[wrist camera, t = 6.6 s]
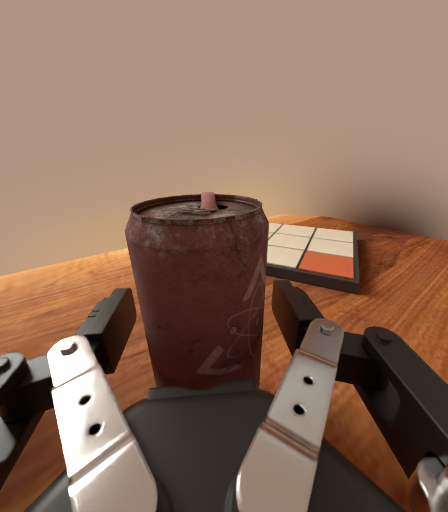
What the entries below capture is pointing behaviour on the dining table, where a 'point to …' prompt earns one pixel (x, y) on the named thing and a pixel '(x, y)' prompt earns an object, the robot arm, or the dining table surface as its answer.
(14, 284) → the dining table surface
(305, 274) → the board
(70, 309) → the dining table surface
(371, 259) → the dining table surface
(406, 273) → the dining table surface
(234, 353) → the can
